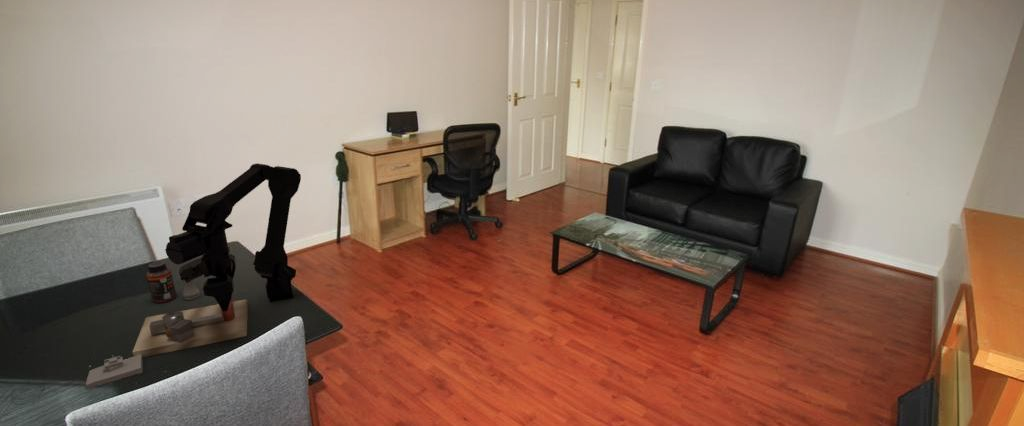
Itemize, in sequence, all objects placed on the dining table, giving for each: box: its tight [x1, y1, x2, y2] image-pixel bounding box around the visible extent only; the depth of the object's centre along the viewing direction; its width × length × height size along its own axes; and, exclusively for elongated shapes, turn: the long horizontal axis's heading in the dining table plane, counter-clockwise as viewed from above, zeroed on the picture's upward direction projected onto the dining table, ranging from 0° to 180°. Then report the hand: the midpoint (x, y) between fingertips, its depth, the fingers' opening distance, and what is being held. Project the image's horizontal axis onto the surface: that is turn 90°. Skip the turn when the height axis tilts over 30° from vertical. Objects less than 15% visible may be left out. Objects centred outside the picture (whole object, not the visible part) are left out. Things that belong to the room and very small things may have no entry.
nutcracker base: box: [132, 299, 249, 359], centre depth 129 cm, size 24×17×6 cm
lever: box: [149, 296, 235, 335], centre depth 127 cm, size 18×4×7 cm, turn 116°
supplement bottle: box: [146, 260, 177, 304], centre depth 143 cm, size 6×6×11 cm
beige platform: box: [85, 354, 144, 390], centre depth 114 cm, size 12×11×4 cm
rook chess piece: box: [182, 279, 201, 301], centre depth 145 cm, size 4×4×8 cm
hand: (226, 302), depth 130 cm, fingers open, 9 cm apart
